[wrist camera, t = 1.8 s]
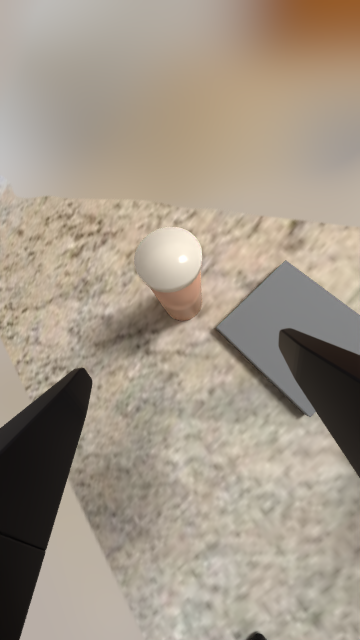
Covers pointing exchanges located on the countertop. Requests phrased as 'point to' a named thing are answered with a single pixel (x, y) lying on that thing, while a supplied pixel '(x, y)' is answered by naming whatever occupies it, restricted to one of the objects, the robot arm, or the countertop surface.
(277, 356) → the mat
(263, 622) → the countertop surface
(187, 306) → the terracotta canister
